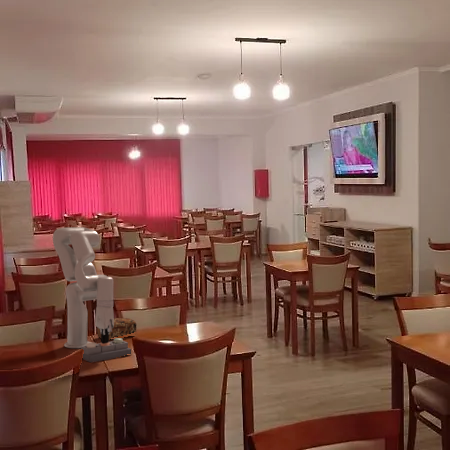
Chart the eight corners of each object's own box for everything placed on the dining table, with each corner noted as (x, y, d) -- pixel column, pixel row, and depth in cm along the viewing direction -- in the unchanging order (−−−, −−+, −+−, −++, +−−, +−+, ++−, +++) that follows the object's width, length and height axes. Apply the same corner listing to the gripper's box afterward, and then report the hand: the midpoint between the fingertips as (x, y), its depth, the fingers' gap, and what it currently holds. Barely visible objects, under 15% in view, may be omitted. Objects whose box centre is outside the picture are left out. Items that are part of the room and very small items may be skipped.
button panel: (78, 357, 278) (78, 345, 277) (118, 350, 291) (118, 338, 291) (90, 362, 268) (90, 350, 268) (131, 355, 282) (131, 343, 282)
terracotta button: (98, 348, 280) (98, 342, 280) (106, 346, 283) (106, 341, 283) (103, 350, 277) (103, 344, 277) (111, 348, 279) (111, 343, 279)
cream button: (84, 348, 275) (84, 343, 275) (93, 347, 278) (93, 341, 278) (89, 350, 272) (89, 344, 272) (97, 349, 275) (97, 343, 275)
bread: (107, 341, 309) (107, 322, 308) (96, 338, 317) (96, 319, 316) (137, 336, 321) (137, 317, 321) (126, 333, 329) (126, 315, 329)
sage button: (112, 344, 284) (112, 338, 284) (119, 343, 287) (119, 337, 287) (116, 346, 281) (116, 340, 281) (124, 344, 284) (124, 339, 284)
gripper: (90, 302, 282) (89, 340, 283) (105, 306, 271) (105, 347, 271) (104, 300, 287) (104, 338, 288) (120, 305, 275) (120, 344, 276)
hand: (104, 342), depth 280 cm, fingers closed
